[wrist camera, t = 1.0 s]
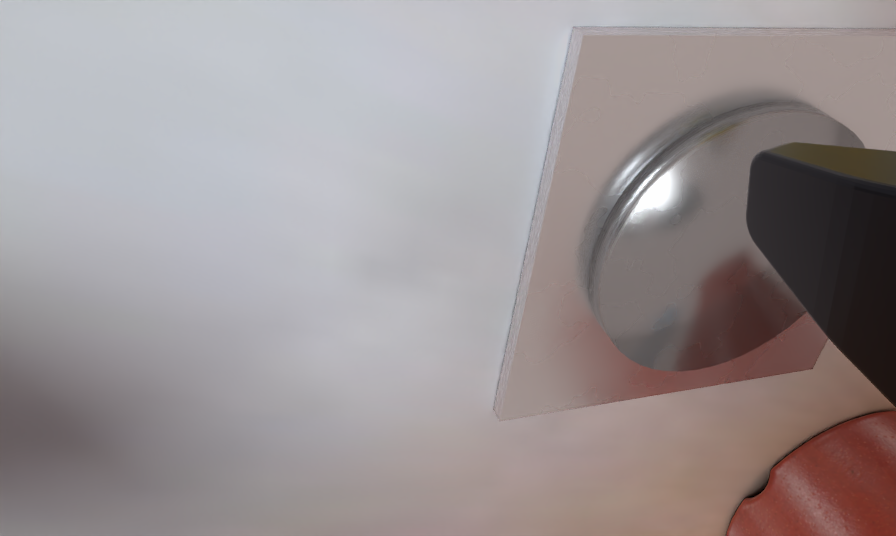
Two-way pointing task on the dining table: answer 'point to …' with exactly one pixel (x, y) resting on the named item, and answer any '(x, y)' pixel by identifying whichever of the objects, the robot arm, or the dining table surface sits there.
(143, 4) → the dining table surface
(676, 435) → the dining table surface
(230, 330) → the dining table surface
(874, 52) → the flange
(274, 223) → the dining table surface
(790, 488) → the flower pot
